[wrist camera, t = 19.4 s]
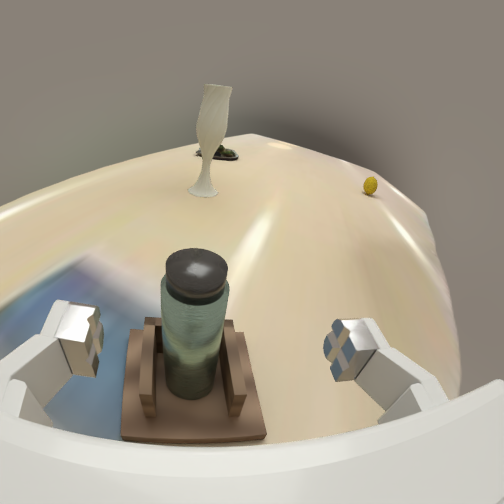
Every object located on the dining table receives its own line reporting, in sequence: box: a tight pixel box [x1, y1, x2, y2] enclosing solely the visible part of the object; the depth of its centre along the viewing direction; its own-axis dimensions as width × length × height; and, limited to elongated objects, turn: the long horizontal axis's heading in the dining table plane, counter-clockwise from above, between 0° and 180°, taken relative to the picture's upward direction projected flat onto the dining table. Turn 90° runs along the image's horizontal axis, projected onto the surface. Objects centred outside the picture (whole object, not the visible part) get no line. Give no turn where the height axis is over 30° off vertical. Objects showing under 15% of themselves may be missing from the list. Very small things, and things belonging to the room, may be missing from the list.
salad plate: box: [196, 145, 238, 161], centre depth 120 cm, size 19×18×5 cm
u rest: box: [121, 317, 267, 443], centre depth 30 cm, size 15×15×6 cm
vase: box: [188, 84, 232, 197], centre depth 74 cm, size 9×8×30 cm
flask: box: [161, 248, 229, 400], centre depth 27 cm, size 6×6×16 cm
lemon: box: [364, 177, 377, 195], centre depth 110 cm, size 6×6×8 cm
